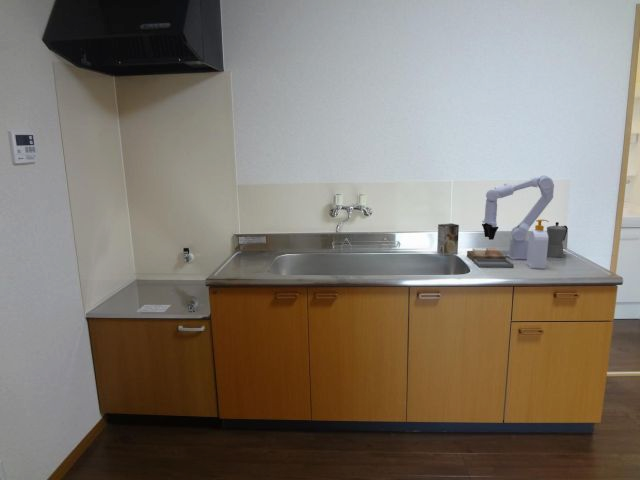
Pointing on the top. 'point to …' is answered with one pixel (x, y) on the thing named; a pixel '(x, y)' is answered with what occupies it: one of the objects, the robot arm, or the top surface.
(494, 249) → the terracotta tile
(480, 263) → the box
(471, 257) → the walnut plate
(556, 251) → the coffeepot
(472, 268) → the top surface
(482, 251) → the cream tile
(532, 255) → the soap bottle
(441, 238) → the coffee box
